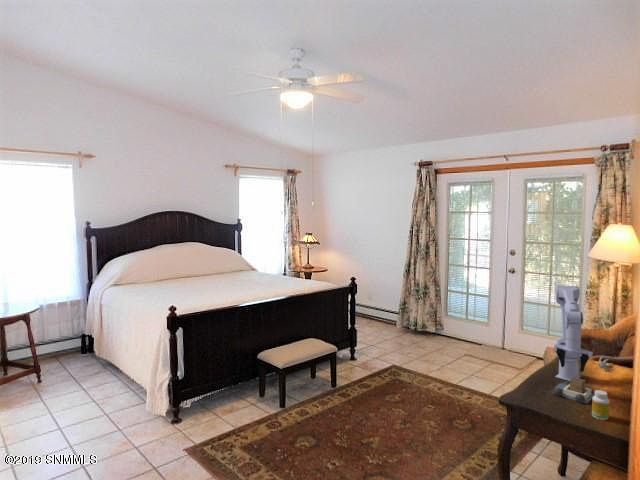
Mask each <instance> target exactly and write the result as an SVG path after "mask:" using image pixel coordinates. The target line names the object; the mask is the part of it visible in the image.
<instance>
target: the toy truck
mask: <svg viewBox="0 0 640 480" xmlns="http://www.w3.org/2000/svg"><path fill="white" fill-rule="evenodd" d="M552 395H555V396H556V397H563V398H566V399H568V400H569V399H570V400H573V401H576V402H577V403H578V404H582V403H584V404H588V403H589V402H590V401H592V398H593V396H595V393H594V390H593V388H592V387H589V386H588V387H587V386H585V393H584V394H582V393H578V392H575V391H571V390H570V381H568V380H565V381H563V382H560V383H559V384H557V385H556V386H554V389H553V390H552Z"/></svg>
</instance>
